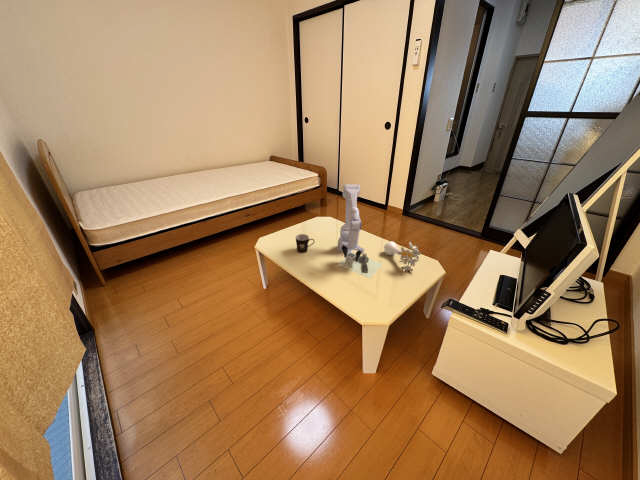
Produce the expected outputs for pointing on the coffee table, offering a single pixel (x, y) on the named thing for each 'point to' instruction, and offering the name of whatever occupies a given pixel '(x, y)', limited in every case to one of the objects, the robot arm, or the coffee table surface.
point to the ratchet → (364, 262)
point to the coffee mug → (302, 243)
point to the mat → (357, 268)
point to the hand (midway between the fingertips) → (351, 258)
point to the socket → (350, 259)
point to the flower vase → (403, 253)
